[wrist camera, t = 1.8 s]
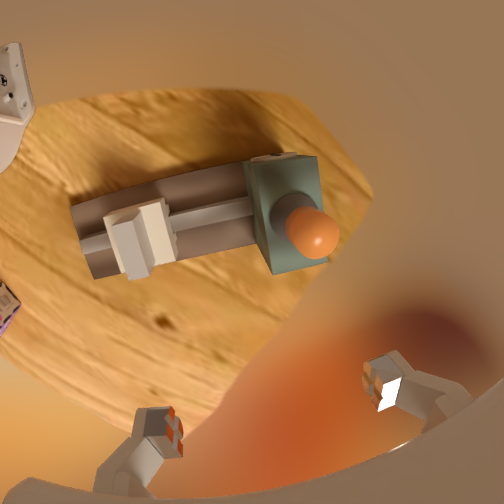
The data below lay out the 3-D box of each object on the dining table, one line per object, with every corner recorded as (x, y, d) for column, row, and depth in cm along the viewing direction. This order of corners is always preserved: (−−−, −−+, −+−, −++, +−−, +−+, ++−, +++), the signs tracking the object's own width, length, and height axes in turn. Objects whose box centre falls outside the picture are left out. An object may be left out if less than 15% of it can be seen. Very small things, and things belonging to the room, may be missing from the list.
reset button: (282, 210, 23) (292, 219, 20) (322, 202, 24) (337, 210, 21) (288, 250, 25) (298, 263, 22) (326, 241, 25) (340, 253, 22)
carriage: (115, 208, 33) (90, 227, 25) (165, 194, 34) (153, 209, 25) (130, 258, 36) (111, 288, 27) (179, 247, 36) (172, 276, 28)
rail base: (73, 201, 33) (28, 223, 22) (284, 149, 36) (317, 151, 25) (97, 275, 38) (66, 318, 27) (296, 231, 40) (329, 263, 29)
